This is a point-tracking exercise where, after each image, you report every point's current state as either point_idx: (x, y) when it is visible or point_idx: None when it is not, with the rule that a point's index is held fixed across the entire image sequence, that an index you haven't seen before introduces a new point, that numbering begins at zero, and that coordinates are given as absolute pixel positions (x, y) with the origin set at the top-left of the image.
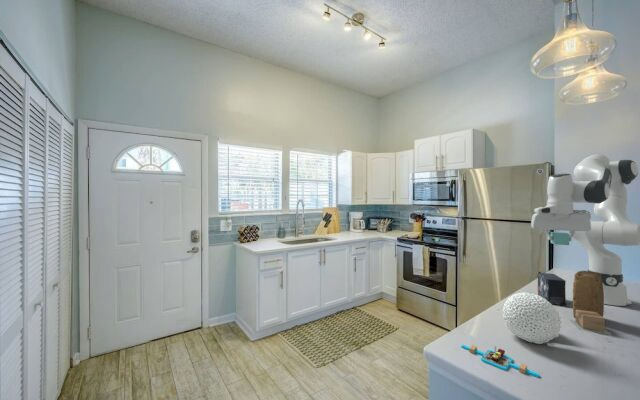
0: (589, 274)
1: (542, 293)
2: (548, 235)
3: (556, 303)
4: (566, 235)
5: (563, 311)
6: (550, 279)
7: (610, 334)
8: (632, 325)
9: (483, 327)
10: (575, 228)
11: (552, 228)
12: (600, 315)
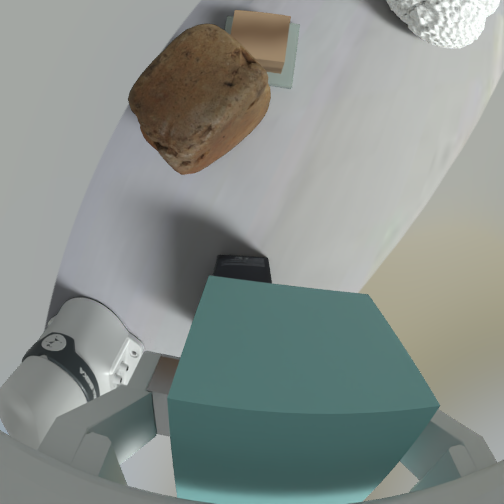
0: (205, 49)
1: None
2: (436, 412)
3: (245, 257)
4: (229, 377)
5: (254, 191)
6: None
7: (231, 16)
8: (113, 139)
9: (488, 42)
10: (3, 482)
11: (477, 492)
12: (231, 29)
